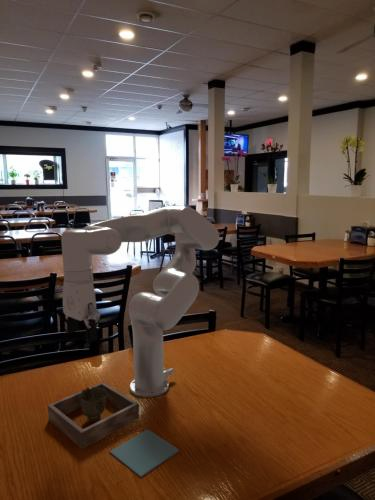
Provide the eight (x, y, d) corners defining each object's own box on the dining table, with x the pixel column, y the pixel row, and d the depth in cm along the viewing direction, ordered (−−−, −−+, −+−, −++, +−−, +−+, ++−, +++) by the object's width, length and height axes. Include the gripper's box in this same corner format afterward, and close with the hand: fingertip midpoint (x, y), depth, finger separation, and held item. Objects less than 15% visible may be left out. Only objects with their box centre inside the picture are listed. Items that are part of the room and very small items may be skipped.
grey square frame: (103, 395, 120) (102, 381, 120) (139, 418, 108) (138, 403, 107) (48, 420, 108) (47, 405, 107) (82, 449, 95) (81, 432, 94)
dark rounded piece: (100, 428, 103) (99, 401, 102) (75, 425, 105) (74, 398, 104) (111, 413, 111) (110, 387, 109) (87, 410, 112) (86, 384, 111)
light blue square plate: (147, 430, 102) (147, 429, 102) (179, 451, 94) (179, 449, 94) (109, 452, 94) (109, 451, 94) (141, 477, 86) (140, 475, 85)
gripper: (49, 273, 106) (53, 332, 109) (83, 283, 94) (87, 349, 97) (74, 269, 111) (77, 325, 114) (109, 277, 99) (111, 340, 102)
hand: (82, 336), depth 105 cm, fingers open, 9 cm apart
